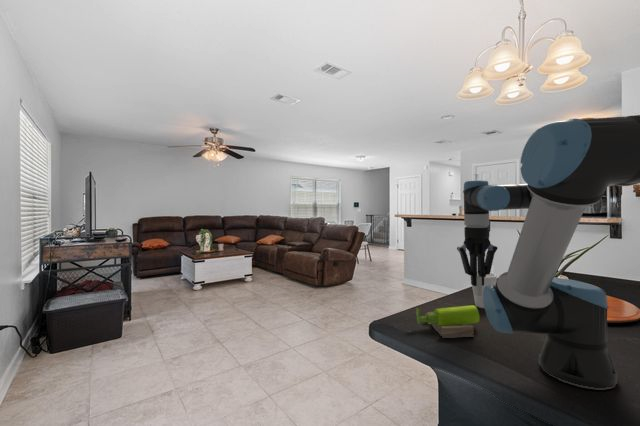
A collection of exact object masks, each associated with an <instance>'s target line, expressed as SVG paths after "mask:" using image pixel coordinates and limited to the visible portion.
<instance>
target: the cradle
mask: <svg viewBox="0 0 640 426" xmlns="http://www.w3.org/2000/svg"><path fill="white" fill-rule="evenodd" d="M427 313H434V311H430V312H429V311H427V312H426V314H427ZM474 328H475V327H474V326H473V325H472V324H462V326H441V333H442V334H474V333H475V331H474ZM474 335H475V334H474Z"/></svg>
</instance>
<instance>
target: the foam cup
mask: <svg viewBox="0 0 640 426" xmlns="http://www.w3.org/2000/svg"><path fill="white" fill-rule="evenodd" d="M477 275H478V271H477ZM497 280H498V277H497V274H496V273H494V272H490V274H487V275H486V277H484V286H482V296H476V295H475V294H474V286H473V285H472V284H471V287H472V293H473V298H474V306H475V307H476V308H480V309H485V307H484V302H483V290H484V288H485V287H486V286H489V285H492V286H495V285H496V283H497Z"/></svg>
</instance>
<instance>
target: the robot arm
mask: <svg viewBox="0 0 640 426" xmlns="http://www.w3.org/2000/svg"><path fill="white" fill-rule="evenodd" d="M520 164H521V166H520V174H521V177H522V179H523V181H524V182H525V183H521V184H520V183H519V184H517V183H516V184H489V181H488V180H487V179H485V180H483V179H482V180H481V179H480V180H467V181H465V182H464V184H463V190H462V193H463V212H464V213H463V214H464V217H463V219H464V222H463V223H464V226H465V227H464V230H463V231H464V241H463V244H462V245H460V246H457V247H456V250H457V252H458V253H459V255H460V258H461V259H460V260H461V262H462V263H461V264H462V267H463V269H464V273H465V274H466V275H468V276H470V284H471V286H472V285H473V286H474V294H475V295H476V296H482V286H484V277H486V275H487V274H490V273H491V270H492V267H493V261H494V258H495V253H496V252H497V250H498V248H499V247H498V246H497V245H493V244H492V243H491V241H490V227H489V226H490V212H497V211H503V210H505V211H507V210H523V209H525V210H527V212H526V216H525V219H524V221H523V224H522V228H521V229H520V234H519V236H518V240H517V243H516V245H515V249H514V252H513V253H512V254H513V255H512V258H511V260H510V264H509V266H508V269H507V271H505V272H503V273H502V274H501V273H500V275H499V276H498V277H497V282H496V285H495V286H492V285H489V286H486V287H485V288H484V290H483V302H484V307H485V308H484V311H485V314H486V317H487V320H488V322H489V323H490V325H491V327H492V328H493V329H494V330H495V331H497V332H498V333H502V334H503V333H504V334H511V335H513V334H546V337H545V340H544V343H543V346H542V349H541V351H540V353H539V355H538V366H539V365H540V366H541V368H542V369H544V370H545V371H546V372H547V373H549V374H551V375H553V376H555V377H557V378H560V379H562V380H565V381H568V382H571V383H574V384H578V385H583V386H588V387H594V388H606V387H613V386H615V385H616V384H617V385H618V373H617V371H616V369H615V367H614V366H615V365H614V363H613V361H612V358H611V356H610V354H609V351H608V309H609V306H608V299H607V298H608V297H607V293H606V291H605V290H604V289H602V288H601V287H599V286H597V285H594V284H591V283H587V282H583V281H579V280H576V279H569V278H568V279H567V278H562V277H555V276H556V273H557V271H558V269H559V267H560V265H561V263H562V261H563V258H564V255H565V254H566V251H567V250H568V247H569V245H570V243H571V240H572V238H573V237H574V233H575V231H576V229H577V228H578V225H579V223H580V221H581V218H582V216H583V214H584V212H585V210H586V207H589V206H593V205H596V204H598V203H599V202H600V201H601V200H602V197H603V196H604V194H605V191H606V190H607V188H609V187H613V186H619V187H631V186H634V185H638V184H640V114H637V115H628V116H627V115H626V116H614V117H613V116H612V117H600V118H599V117H595V118H585V119H584V118H582V119H580V118H570V119H565V120H560V121H553V122H548V123H546V124H544V125H542V126H541V127H539V128H538V129H536V130H535V131H534V132H533V133H532V134H531V135H530V137H529V138H528V139H527V141H526V143H525V144H524V148H523V149H522V153H521V156H520ZM467 251H468V253H467ZM468 254H469V256H468ZM477 272H478V275H477ZM474 294H473V295H474ZM540 366H539V367H540ZM541 368H540V369H541ZM542 369H541V370H542Z"/></svg>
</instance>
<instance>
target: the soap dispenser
mask: <svg viewBox="0 0 640 426" xmlns="http://www.w3.org/2000/svg"><path fill="white" fill-rule="evenodd" d="M420 311H421V310H420V308H418V307H416V310H415V316H416V321H417V324H418V325H422V323H424V322H426V323H427V324H428V325H430V324H431V323H437V324H438V325H439V326H451V325H461V324H462V325H472V324H478V323H479V322H480V313H479V310H478V307H477V306H476V305H475V304H471V305H470V304H469V305H460V306H459V305H457V306H450V307H440V308H435V309H434V311H433V312H434V313H427V312H426V314H425V316H424V315H423V316H420V314H421V313H420Z"/></svg>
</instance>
